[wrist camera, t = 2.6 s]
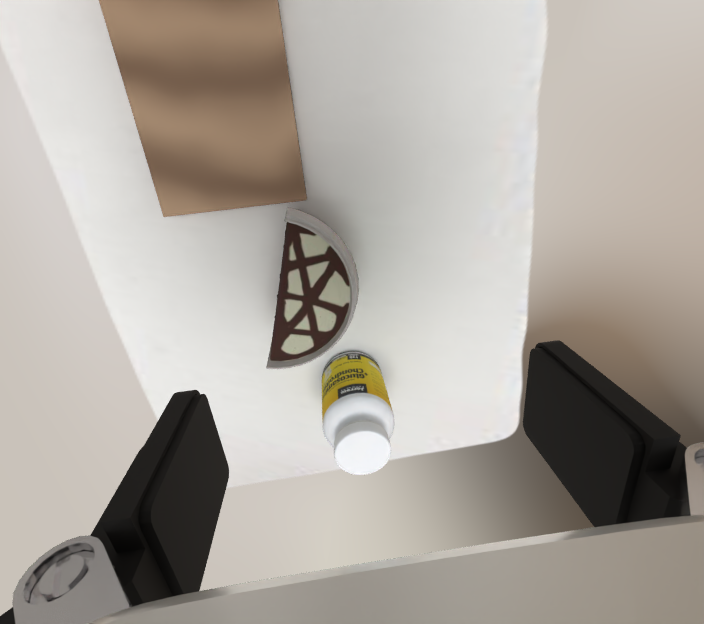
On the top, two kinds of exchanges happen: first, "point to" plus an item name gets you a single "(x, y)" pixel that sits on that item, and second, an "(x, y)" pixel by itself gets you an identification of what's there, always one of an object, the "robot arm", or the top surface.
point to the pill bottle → (356, 413)
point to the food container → (311, 292)
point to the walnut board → (209, 100)
